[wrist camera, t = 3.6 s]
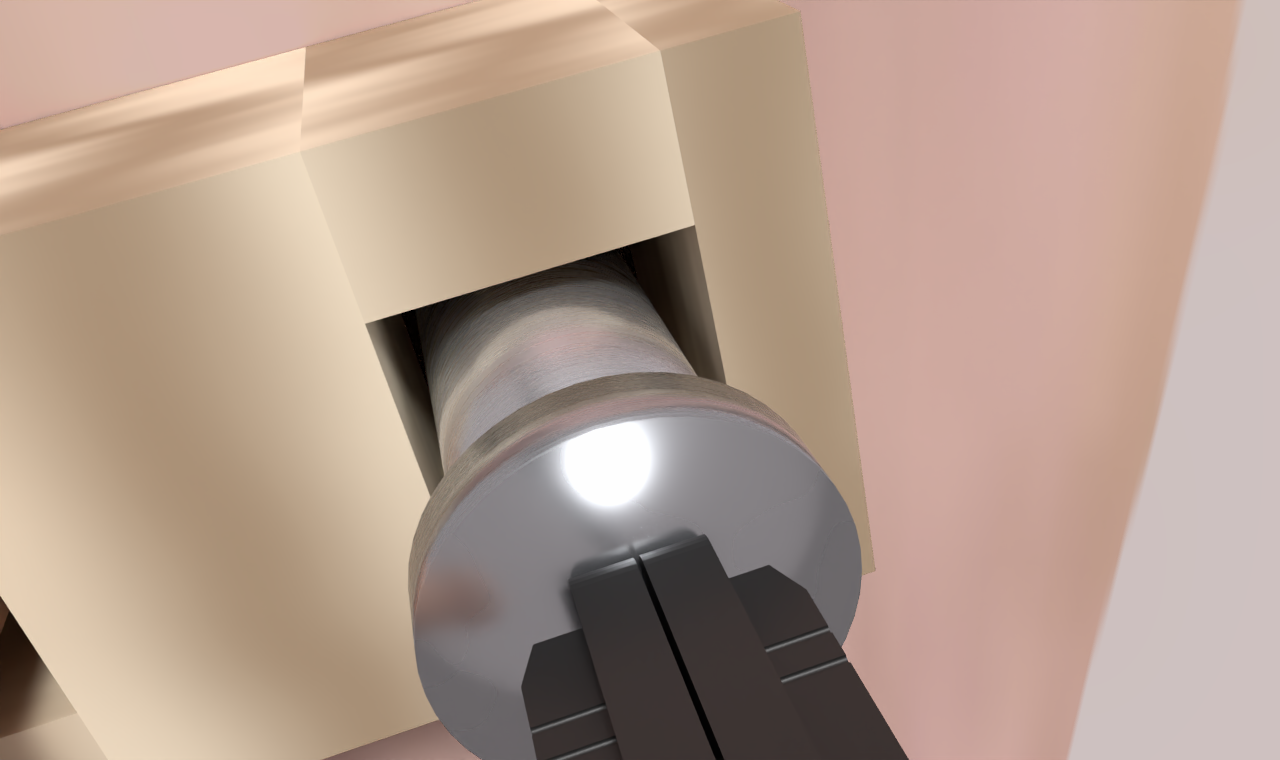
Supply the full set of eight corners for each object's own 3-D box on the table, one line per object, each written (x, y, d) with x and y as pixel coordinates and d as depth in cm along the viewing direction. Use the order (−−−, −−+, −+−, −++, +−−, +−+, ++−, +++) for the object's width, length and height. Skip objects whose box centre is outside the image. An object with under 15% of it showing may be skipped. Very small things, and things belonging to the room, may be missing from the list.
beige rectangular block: (-138, 681, 21) (-282, 965, 16) (-468, 256, 17) (-812, 463, 12) (753, 397, 23) (875, 570, 18) (669, -52, 19) (800, 10, 14)
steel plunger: (421, 417, 21) (489, 844, 13) (335, 180, 19) (346, 512, 10) (662, 342, 22) (882, 704, 13) (607, 103, 19) (833, 357, 11)
